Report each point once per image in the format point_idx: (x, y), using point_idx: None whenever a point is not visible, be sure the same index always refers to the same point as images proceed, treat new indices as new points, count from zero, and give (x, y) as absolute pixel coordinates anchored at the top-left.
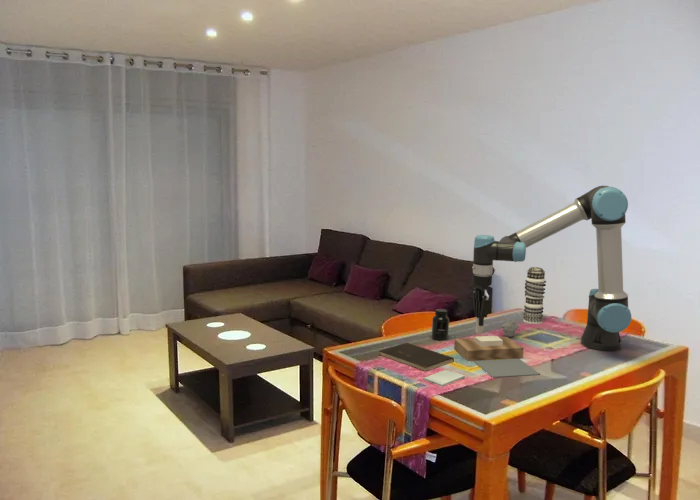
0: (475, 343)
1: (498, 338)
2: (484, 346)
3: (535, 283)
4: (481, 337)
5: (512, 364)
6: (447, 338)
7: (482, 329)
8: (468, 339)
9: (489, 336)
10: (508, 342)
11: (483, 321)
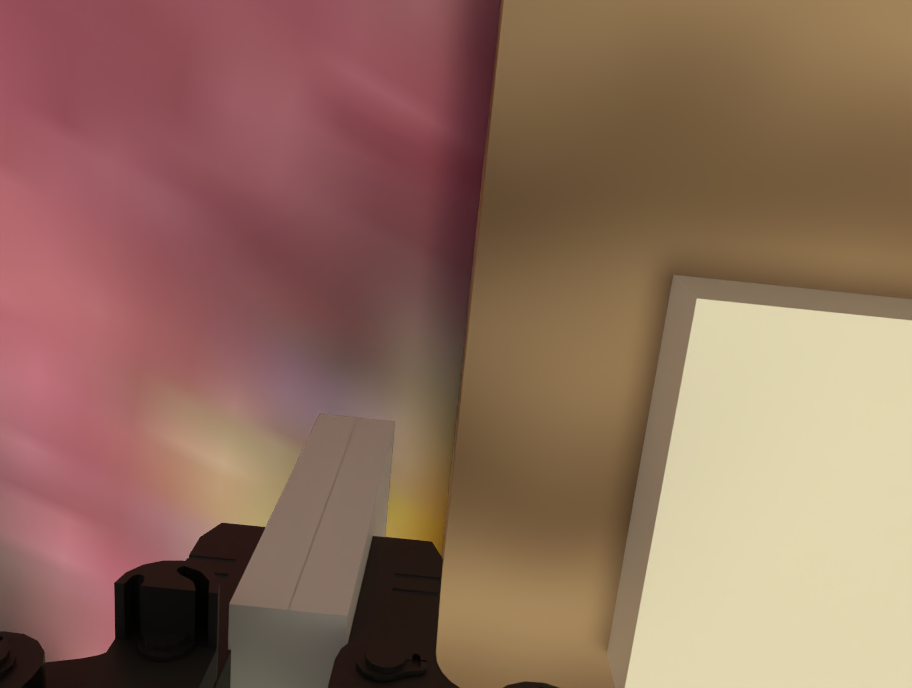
0: None
1: (882, 355)
2: None
3: None
4: (707, 626)
5: None
6: None
7: (386, 472)
8: (479, 684)
9: (703, 461)
10: (864, 96)
11: (436, 605)
